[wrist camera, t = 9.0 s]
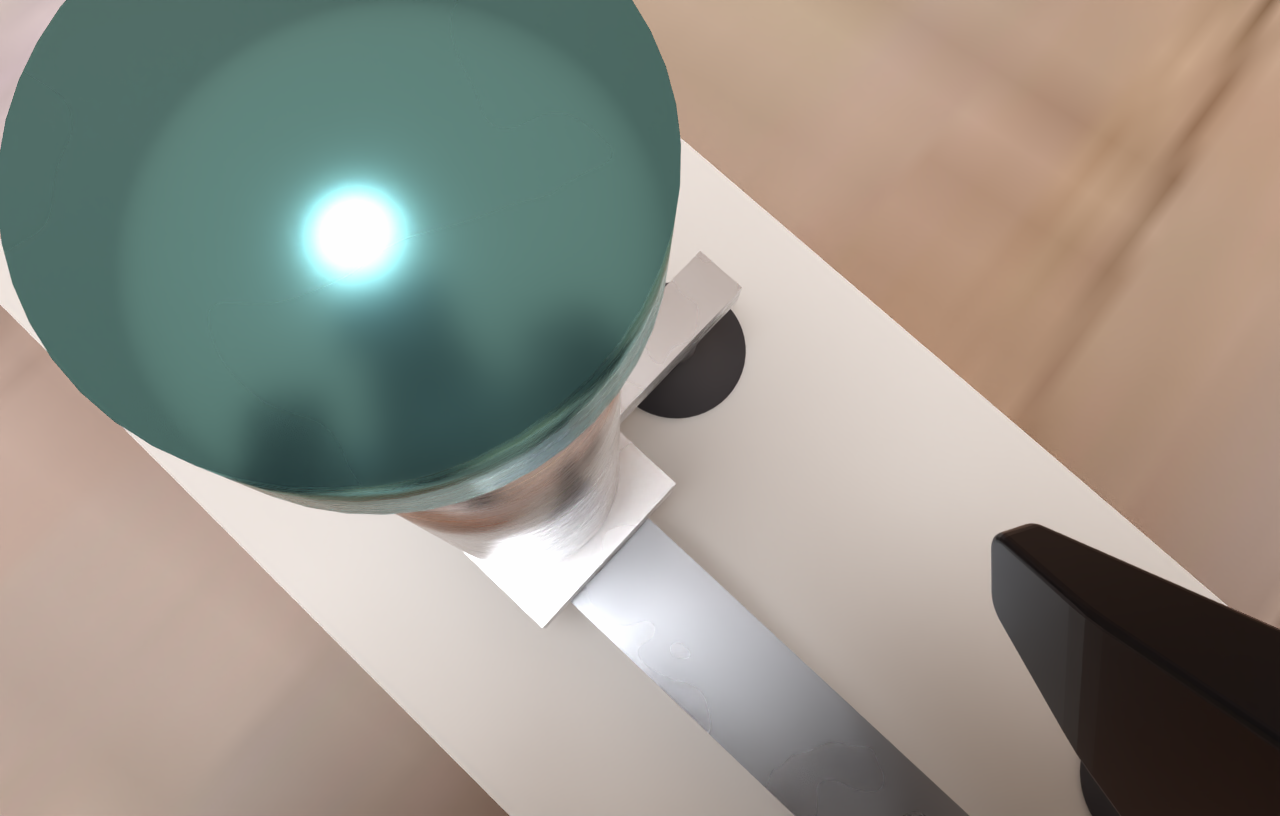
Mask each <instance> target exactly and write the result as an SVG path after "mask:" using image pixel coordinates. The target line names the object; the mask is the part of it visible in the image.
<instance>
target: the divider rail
mask: <svg viewBox="0 0 1280 816" xmlns="http://www.w3.org/2000/svg"><path fill="white" fill-rule="evenodd" d="M571 603H572V604H573V605H574V606H575V607H577V608H578V609H579V610H580V611H581V612H582V613H583V614H584V615H585V616H586V617H587V618H588V619H589V620H590V621H591V622H592V623H593V624H594V625H595V626H596V627H597V628H598V629H600V630H601V631H602V632H603V633H604V634H605V635H606V636H607V637H608V638H609V639H610V640H611V641H612V642H613V643H614V644H615V645H616V646H617V647H618V648H619V649H620V650H622V651H623V652H624V653H625V654H626V655H627V656H628V657H629V658H630V659H631V660H632V661H633V662H634V663H635V664H636V665H637V666H638V667H639V668H640V669H641V670H642V671H644V672H645V673H646V674H647V675H648V676H649V677H650V678H651V679H652V680H653V681H654V682H655V683H656V684H657V685H658V686H659V687H660V688H661V689H662V690H663V691H664V692H666V693H667V694H668V695H669V696H670V697H671V698H672V699H673V700H674V701H675V702H676V703H677V704H678V705H679V706H680V707H681V708H682V709H683V710H684V711H685V712H686V713H688V714H689V715H690V716H691V717H692V718H693V719H694V720H695V721H696V722H697V723H698V724H699V725H700V726H701V727H702V728H703V729H704V730H705V731H706V732H707V733H708V734H710V735H711V736H712V737H713V738H714V739H715V740H716V741H717V742H718V743H719V744H720V745H721V746H722V747H723V748H724V749H725V750H726V751H727V752H728V753H729V754H730V755H732V756H733V757H734V758H735V759H736V760H737V761H738V762H739V763H740V764H741V765H742V766H743V767H744V768H745V769H746V770H747V771H748V772H749V773H750V774H751V775H752V776H754V777H755V778H756V779H757V780H758V781H759V782H760V783H761V784H762V785H763V786H764V787H765V788H766V789H767V790H768V791H769V792H770V793H771V794H772V795H773V796H774V797H776V798H777V799H778V800H779V801H780V802H781V803H782V804H783V805H784V806H785V807H786V808H787V809H788V810H789V811H790V812H791V813H792V814H793V815H794V816H969V815H968V814H967V813H966V812H965V811H964V810H963V809H962V808H961V807H960V806H958V805H957V804H956V803H955V802H954V801H953V800H952V799H951V798H950V797H949V796H948V795H947V794H946V793H944V792H943V791H942V790H941V789H940V788H939V787H938V786H937V785H936V784H935V783H934V782H933V781H932V780H930V779H929V778H928V777H927V776H926V775H925V774H924V773H923V772H922V771H921V770H920V769H919V768H917V767H916V766H915V765H914V764H913V763H912V762H911V761H910V760H909V759H908V758H907V757H906V756H905V755H903V754H902V753H901V752H900V751H899V750H898V749H897V748H896V747H895V746H894V745H893V744H892V743H891V742H889V741H888V740H887V739H886V738H885V737H884V736H883V735H882V734H881V733H880V732H879V731H878V730H876V729H875V728H874V727H873V726H872V725H871V724H870V723H869V722H868V721H867V720H866V719H865V718H864V717H862V716H861V715H860V714H859V713H858V712H857V711H856V710H855V709H854V708H853V707H852V706H851V705H850V704H848V703H847V702H846V701H845V700H844V699H843V698H842V697H841V696H840V695H839V694H838V693H837V692H835V691H834V690H833V689H832V688H831V687H830V686H829V685H828V684H827V683H826V682H825V681H824V680H823V679H821V678H820V677H819V676H818V675H817V674H816V673H815V672H814V671H813V670H812V669H811V668H810V667H809V666H807V665H806V664H805V663H804V662H803V661H802V660H801V659H800V658H799V657H798V656H797V655H796V654H795V653H793V652H792V651H791V650H790V649H789V648H788V647H787V646H786V645H785V644H784V643H783V642H782V641H780V640H779V639H778V638H777V637H776V636H775V635H774V634H773V633H772V632H771V631H770V630H769V629H768V628H766V627H765V626H764V625H763V624H762V623H761V622H760V621H759V620H758V619H757V618H756V617H755V616H754V615H752V614H751V613H750V612H749V611H748V610H747V609H746V608H745V607H744V606H743V605H742V604H741V603H739V602H738V601H737V600H736V599H735V598H734V597H733V596H732V595H731V594H730V593H729V592H728V591H727V590H725V589H724V588H723V587H722V586H721V585H720V584H719V583H718V582H717V581H716V580H715V579H714V578H713V577H711V576H710V575H709V574H708V573H707V572H706V571H705V570H704V569H703V568H702V567H701V566H700V565H698V564H697V563H696V562H695V561H694V560H693V559H692V558H691V557H690V556H689V555H688V554H687V553H686V552H684V551H683V550H682V549H681V548H680V547H679V546H678V545H677V544H676V543H675V542H674V541H673V540H672V539H670V538H669V537H668V536H667V535H666V534H665V533H664V532H663V531H662V530H661V529H660V528H659V527H657V526H656V525H655V524H654V523H653V522H652V521H651V520H650V519H649V518H648V519H647V520H646V521H645V522H644V523H643V524H642V525H641V526H640V527H639V528H638V530H637V531H636V532H635V533H634V534H633V535H632V536H631V537H630V538H629V539H628V540H627V541H626V542H625V544H624V545H623V546H622V547H621V548H620V549H619V550H618V551H617V552H616V553H615V554H614V555H613V557H612V558H611V559H610V560H609V561H608V562H607V563H606V564H605V565H604V566H603V567H602V568H601V569H600V571H599V572H598V573H597V574H596V575H595V576H594V577H593V578H592V579H591V580H590V581H589V582H588V584H587V585H586V586H585V587H584V588H583V589H582V590H581V591H580V592H579V593H578V594H577V595H576V596H575V598H574V599H573V600H572V601H571Z"/></svg>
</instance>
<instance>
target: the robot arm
mask: <svg viewBox="0 0 1280 816" xmlns="http://www.w3.org/2000/svg"><path fill="white" fill-rule="evenodd" d="M991 594H992V601H993V605H994V609H995V611H996V614H997V616H998V618H999V620H1000V622H1001V624H1002V626H1003V627H1004V629H1005V631H1006V633H1007V634H1008V636H1009V638H1010V640H1011V641H1012V643H1013V645H1014V647H1015V648H1016V650H1017V652H1018V654H1019V655H1020V657H1021V659H1022V661H1023V662H1024V664H1025V666H1026V668H1027V669H1028V671H1029V673H1030V675H1031V676H1032V678H1033V680H1034V682H1035V684H1036V685H1037V687H1038V689H1039V691H1040V692H1041V694H1042V696H1043V698H1044V699H1045V701H1046V703H1047V705H1048V706H1049V708H1050V710H1051V712H1052V713H1053V715H1054V717H1055V719H1056V720H1057V722H1058V724H1059V726H1060V727H1061V729H1062V731H1063V733H1064V734H1065V736H1066V738H1067V739H1068V741H1069V743H1070V744H1071V746H1072V748H1073V749H1074V751H1075V753H1076V754H1077V756H1078V757H1079V759H1080V760H1081V761H1082V763H1083V764H1084V766H1085V767H1086V769H1087V770H1088V772H1089V773H1090V775H1091V776H1092V777H1093V779H1094V780H1095V782H1096V783H1097V784H1098V786H1099V787H1100V789H1101V790H1102V791H1103V793H1104V794H1105V795H1106V797H1107V798H1108V800H1109V801H1110V802H1111V804H1112V805H1113V807H1114V808H1115V809H1116V811H1117V812H1118V813H1119V815H1120V816H1280V629H1278V628H1276V627H1274V626H1271V625H1269V624H1267V623H1264V622H1262V621H1260V620H1258V619H1255V618H1253V617H1251V616H1248V615H1246V614H1244V613H1242V612H1239V611H1237V610H1235V609H1232V608H1230V607H1228V606H1226V605H1223V604H1221V603H1219V602H1216V601H1214V600H1212V599H1210V598H1207V597H1205V596H1203V595H1200V594H1198V593H1196V592H1194V591H1191V590H1189V589H1187V588H1184V587H1182V586H1180V585H1178V584H1175V583H1173V582H1171V581H1168V580H1166V579H1164V578H1162V577H1159V576H1157V575H1155V574H1152V573H1150V572H1148V571H1146V570H1143V569H1141V568H1139V567H1136V566H1134V565H1132V564H1130V563H1127V562H1125V561H1123V560H1120V559H1118V558H1116V557H1114V556H1111V555H1109V554H1107V553H1104V552H1102V551H1100V550H1098V549H1095V548H1093V547H1091V546H1088V545H1086V544H1084V543H1082V542H1079V541H1077V540H1075V539H1072V538H1070V537H1068V536H1066V535H1063V534H1061V533H1059V532H1056V531H1054V530H1052V529H1050V528H1047V527H1045V526H1042V525H1040V524H1035V523H1028V524H1025V525H1022V526H1018V527H1015V528H1012V529H1009V530H1006V531H1003V532H1000V533H998V534H996V535H995V536H994V538H993V540H992V544H991Z"/></svg>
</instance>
